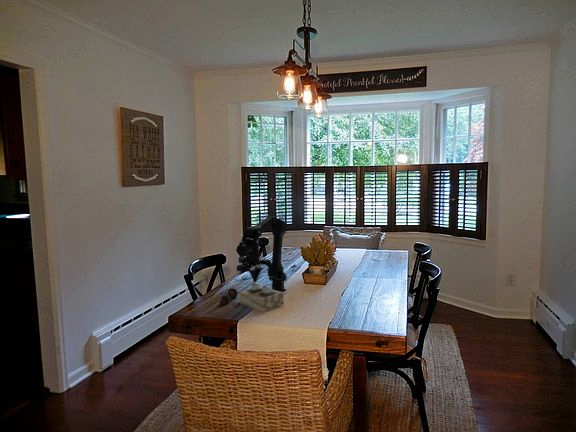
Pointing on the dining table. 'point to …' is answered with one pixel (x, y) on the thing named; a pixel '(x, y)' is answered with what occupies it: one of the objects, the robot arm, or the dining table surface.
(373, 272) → the dining table surface
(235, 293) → the bolt
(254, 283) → the peg
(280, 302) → the jig block
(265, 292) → the peg
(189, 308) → the dining table surface
